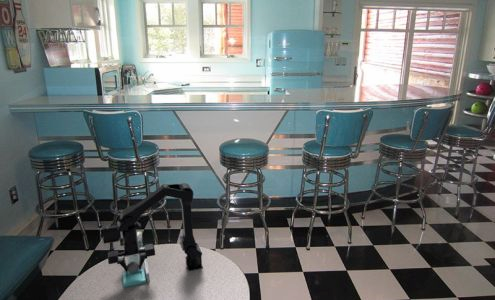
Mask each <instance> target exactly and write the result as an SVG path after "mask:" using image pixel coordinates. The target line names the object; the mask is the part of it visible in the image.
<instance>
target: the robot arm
mask: <svg viewBox="0 0 495 300" xmlns="http://www.w3.org/2000/svg"><path fill="white" fill-rule="evenodd" d="M166 197H171V198H175V199H179V202H180V205H181V216H182V217H181V219H182V230H183V231H182V232H183V233H182V235H179V239H180V240H179V241H180V242H179V244H180V248H181V250H182V251H183V252H184V254H185V255H186V256H185V266H186V268H187V269H188V271H194V270H199V269H204V268H203V267H204V265H203V262H202V260H203V259H202V258H203V257H202V256H203V252H202V250H201V248H200V246H199V243H197V242H196V239H195V237H194V231H193V230H194V229H193V217H192V214H193V213H192V204H193V200H194V190H193V189H192V188H191V186H190V185H189V183H185V182H183V183H171V184H168V183H167V184H166V183H163V184H162V185H160V186H159V187H158V188H157V189H156V190H155V191H153V192H152V193H150V194H149V195H147V196H146V197H144V199H142V200H141V201H139V202H137V203H136V204H133V205H130V206H128V207H125V208H123V210H121V212H120V217H119V218H118V219H117V222H116V224H115V225H110V226H103V227H102V241H103V244H104V245H106V244H112V243H116V242H119V244H120V247H122V246H123V249H124V250H123V251H124V252H123V251H122V252H119V250H118V249H116V250H112V251H108V253H107V262H108V265H113V264H117V265H120V266H121V267H122V268H123V269H124V272H126V273H128V271H127V266H128V264H127V262H126V258H127V257H128V256H133V255H138V254H139V270H141V269H142V267H143V264H144V260H146V259H147V260H148V258H149V257H153V256H156V250H155V245H154V243H148V244H143V248H140V249H138V239H137V231H138V230H139V229H142V225H141V222H138V221H139V220H140V218H141V217H142V216H143V214H144V213H146V212H147V211H148V210H149V209H151V208H152V207H154V206H155V205H156V204H158V203H160V201H162V200H163V199H164V198H166ZM121 233H122V234H121Z"/></svg>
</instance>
